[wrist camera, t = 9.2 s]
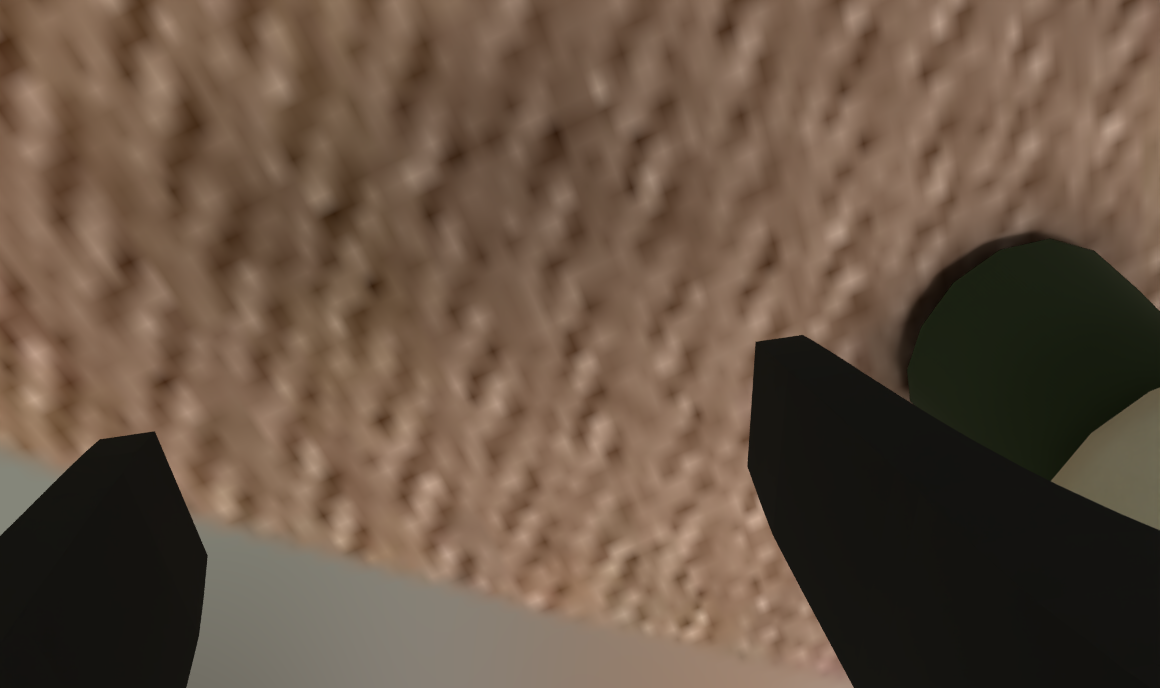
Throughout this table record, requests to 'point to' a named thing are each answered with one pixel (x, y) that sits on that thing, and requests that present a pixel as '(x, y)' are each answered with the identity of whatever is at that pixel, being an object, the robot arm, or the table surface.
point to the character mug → (1051, 371)
